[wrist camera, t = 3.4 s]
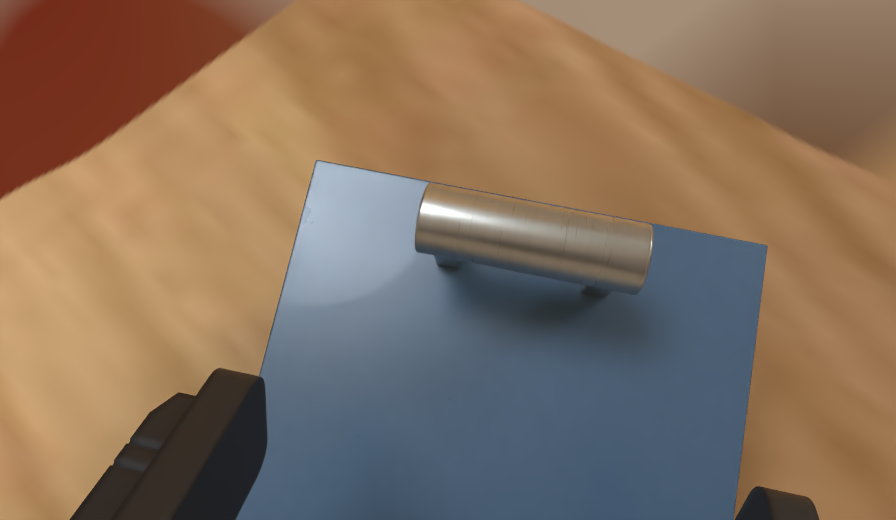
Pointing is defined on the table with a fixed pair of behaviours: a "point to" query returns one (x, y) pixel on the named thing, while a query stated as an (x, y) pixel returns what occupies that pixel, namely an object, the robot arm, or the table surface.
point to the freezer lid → (502, 360)
